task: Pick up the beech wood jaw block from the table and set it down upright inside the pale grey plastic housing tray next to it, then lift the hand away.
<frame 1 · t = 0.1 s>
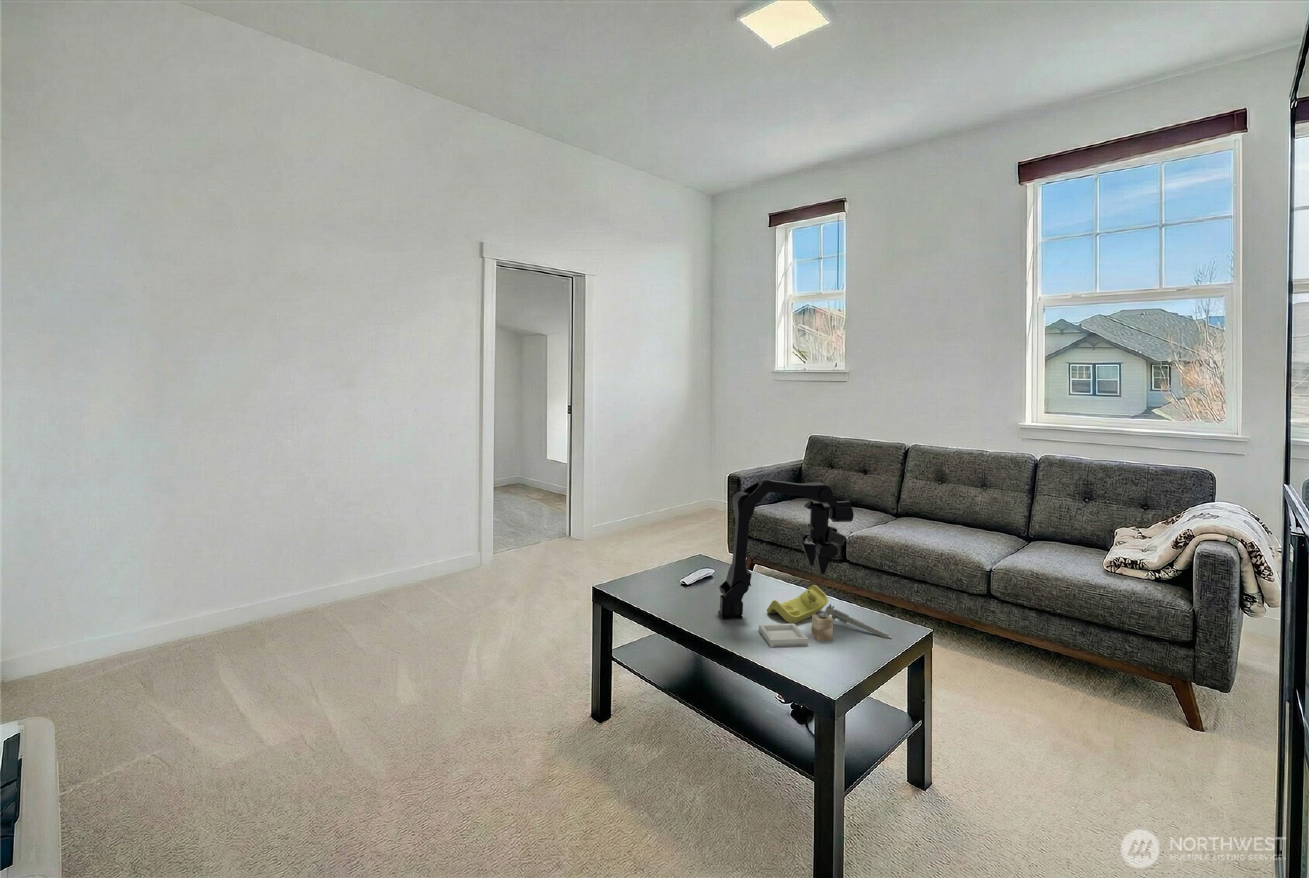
hand: (817, 569, 193), 15 cm above the table, tool pointing down, fingers open, 9 cm apart
housing tray: (782, 638, 174), on the table
plastic component: (799, 615, 194), on the table
caliper: (857, 631, 182), on the table
jaw block: (821, 636, 176), on the table
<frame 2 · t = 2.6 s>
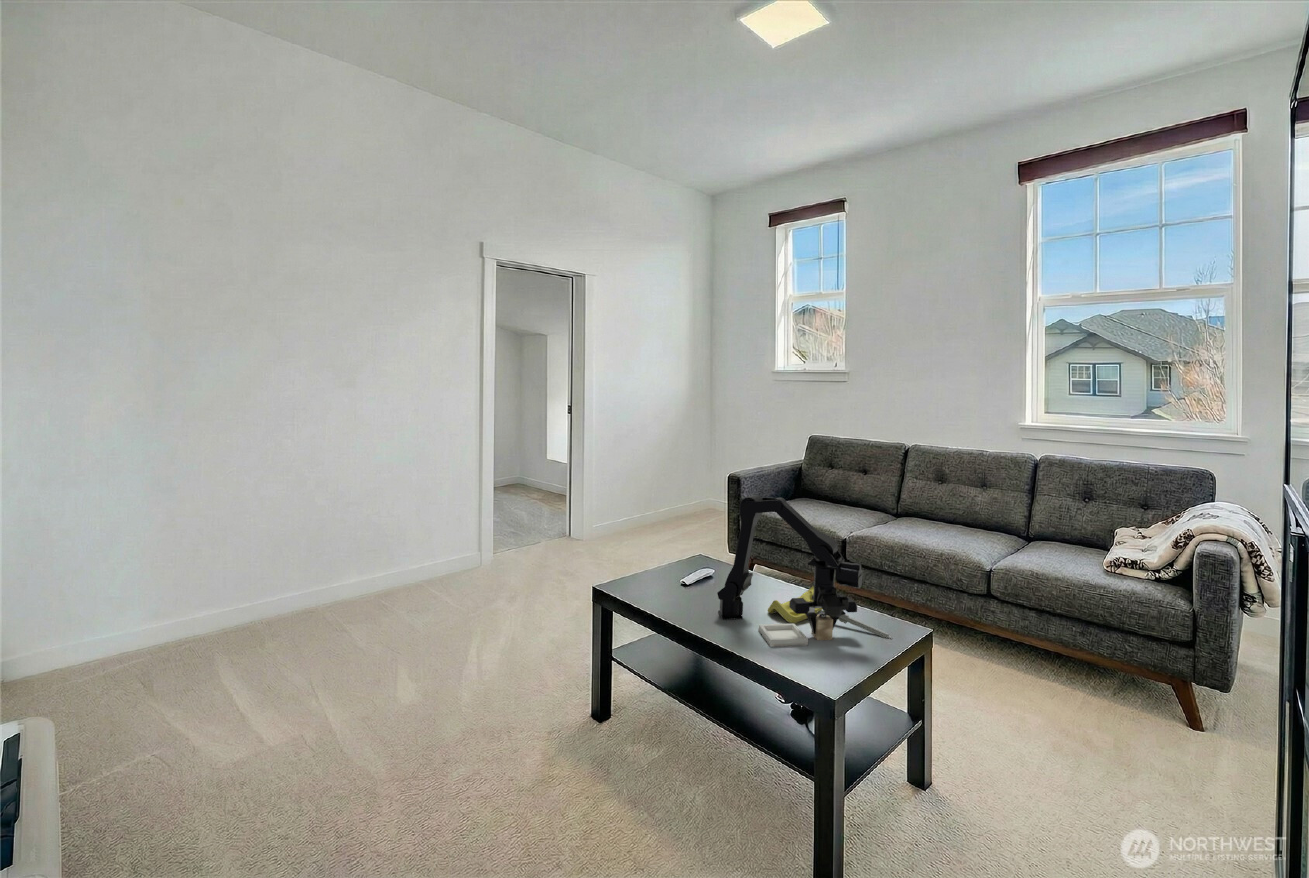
hand: (821, 633, 176), 1 cm above the table, tool pointing down, fingers closed on jaw block, 4 cm apart
jaw block: (821, 636, 176), on the table, touching gripper
everything else where it was.
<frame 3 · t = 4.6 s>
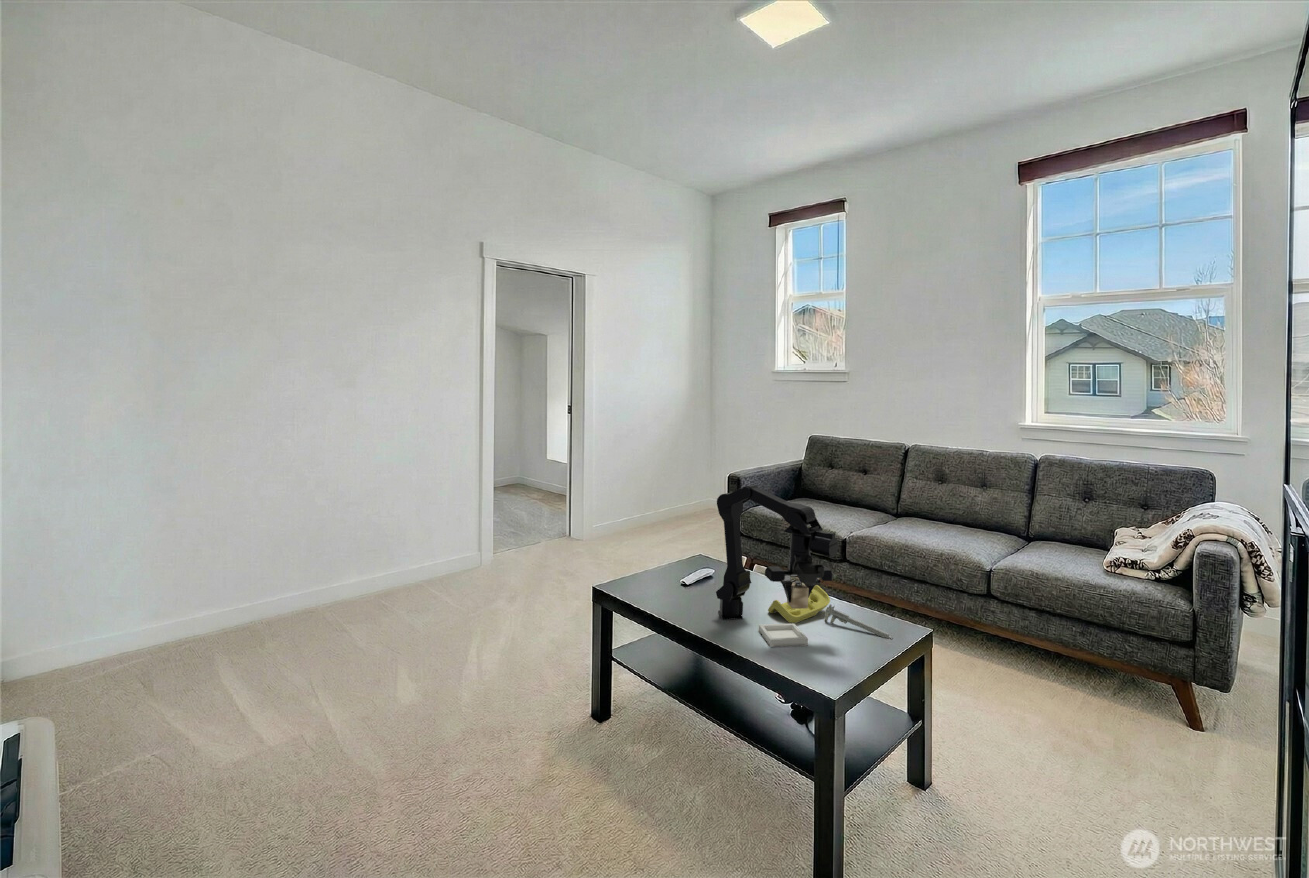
hand: (797, 602, 174), 11 cm above the table, tool pointing down, fingers closed on jaw block, 4 cm apart
jaw block: (797, 605, 174), point 10 cm above the table, touching gripper
everything else where it was.
when the fingers open (3 cm above the table, at t = 6.7 s): jaw block drops 1 cm, resting on housing tray.
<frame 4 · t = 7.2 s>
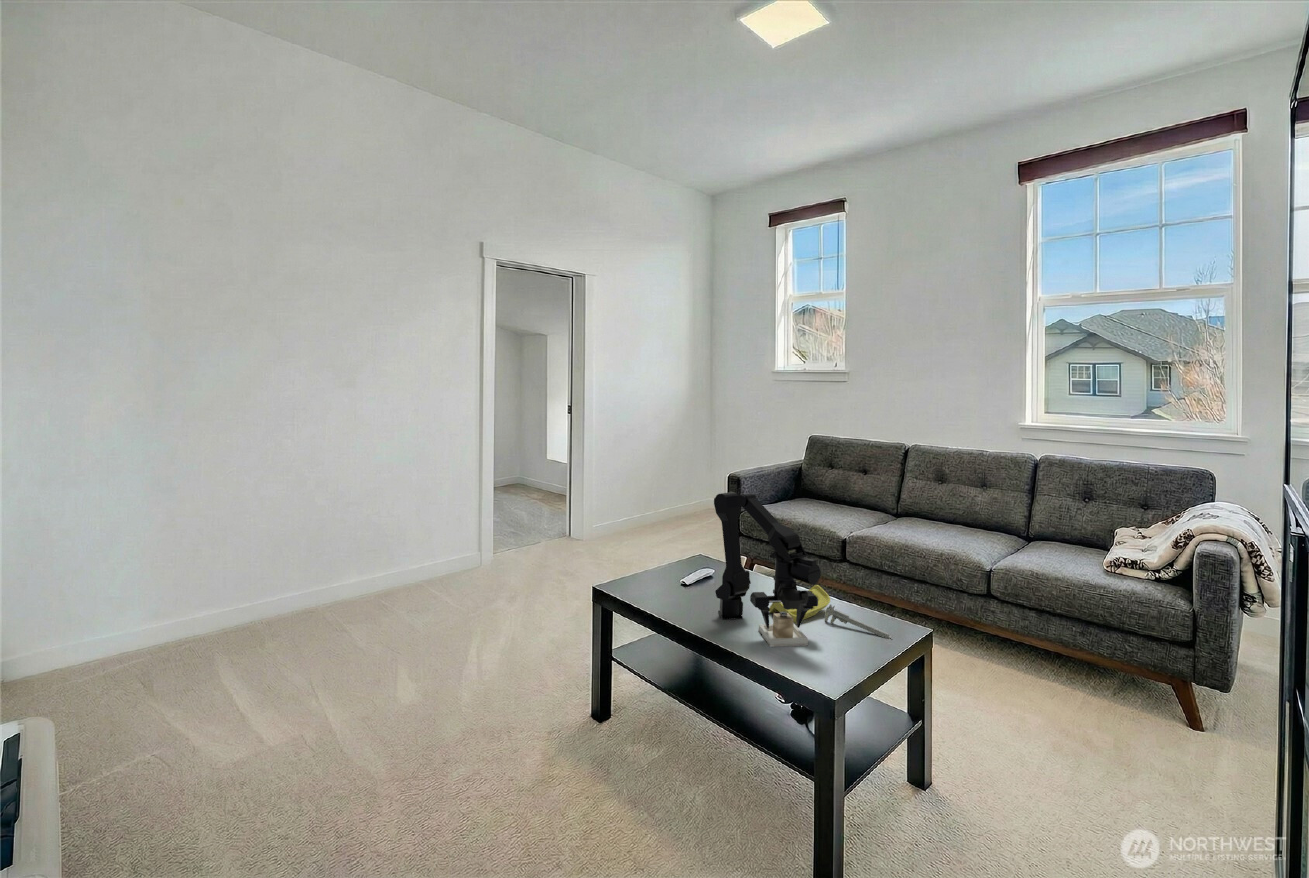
hand: (782, 627, 174), 3 cm above the table, tool pointing down, fingers open, 9 cm apart
jaw block: (782, 636, 174), point 1 cm above the table, touching housing tray
everything else where it was.
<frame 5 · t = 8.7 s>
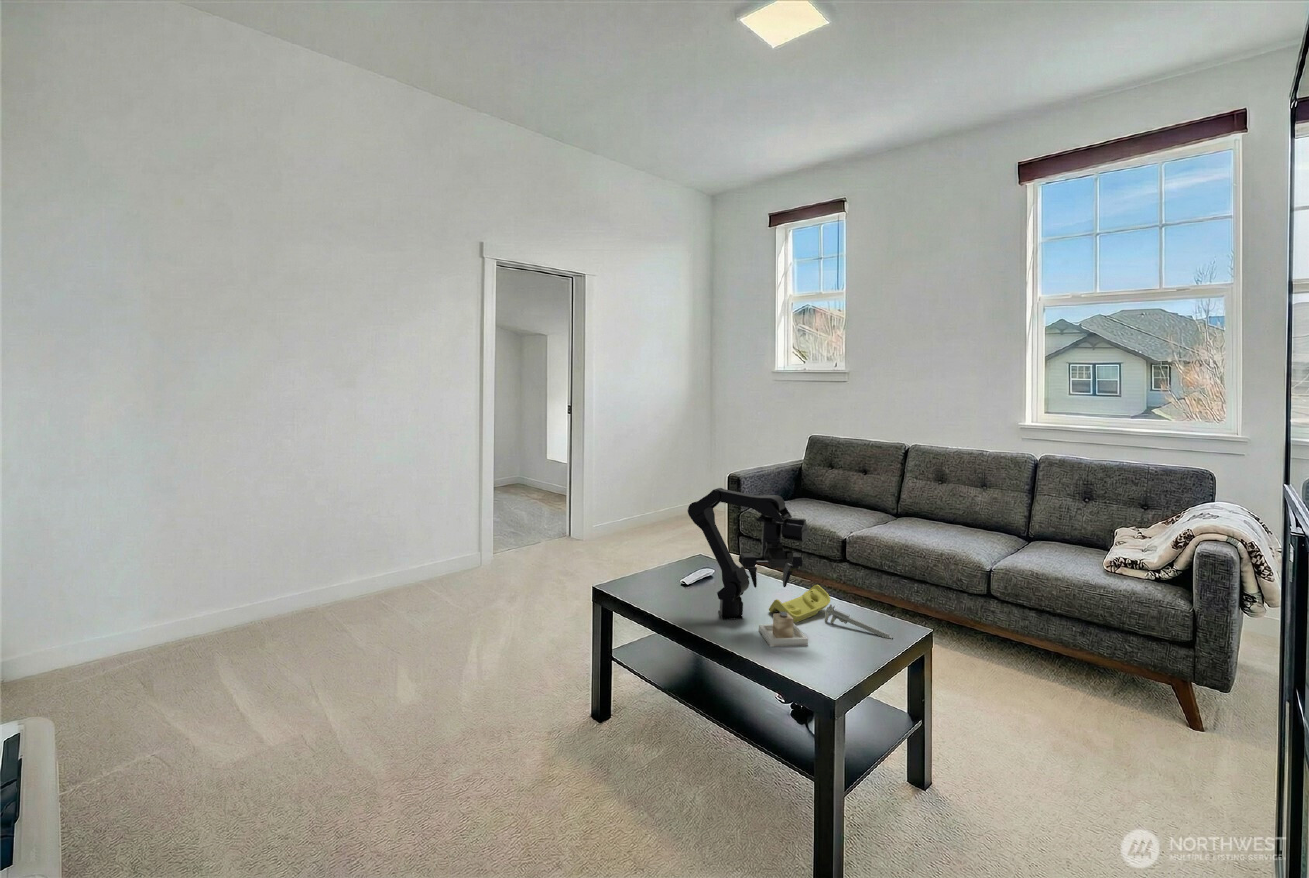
hand: (769, 587, 183), 12 cm above the table, tool pointing down, fingers open, 9 cm apart
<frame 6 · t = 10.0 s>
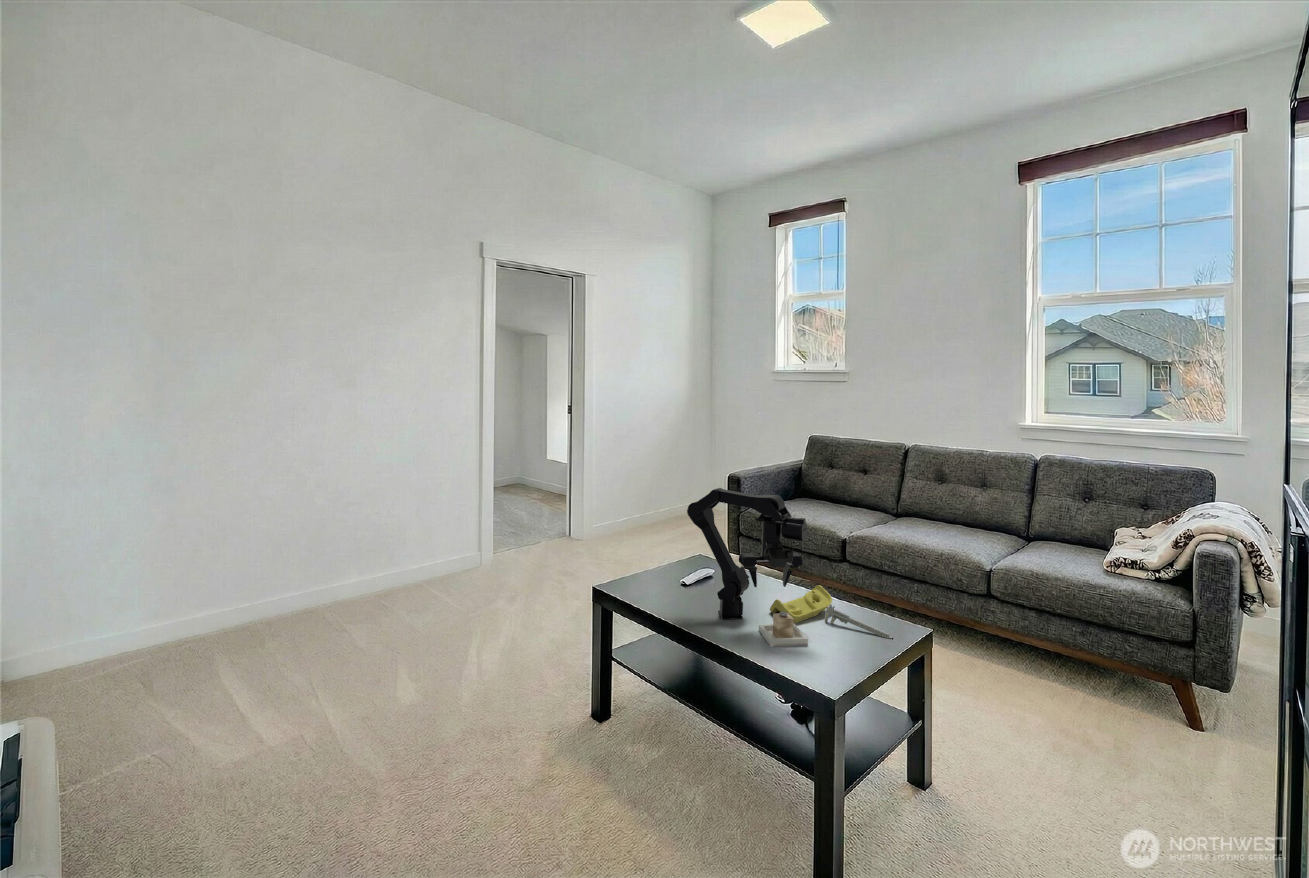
hand: (769, 586, 183), 12 cm above the table, tool pointing down, fingers open, 9 cm apart
at the end: jaw block 0.0 cm off-centre on the housing tray, point 0.6 cm above the housing tray's base; jaw block tilted 0°; the gripper is holding nothing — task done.
